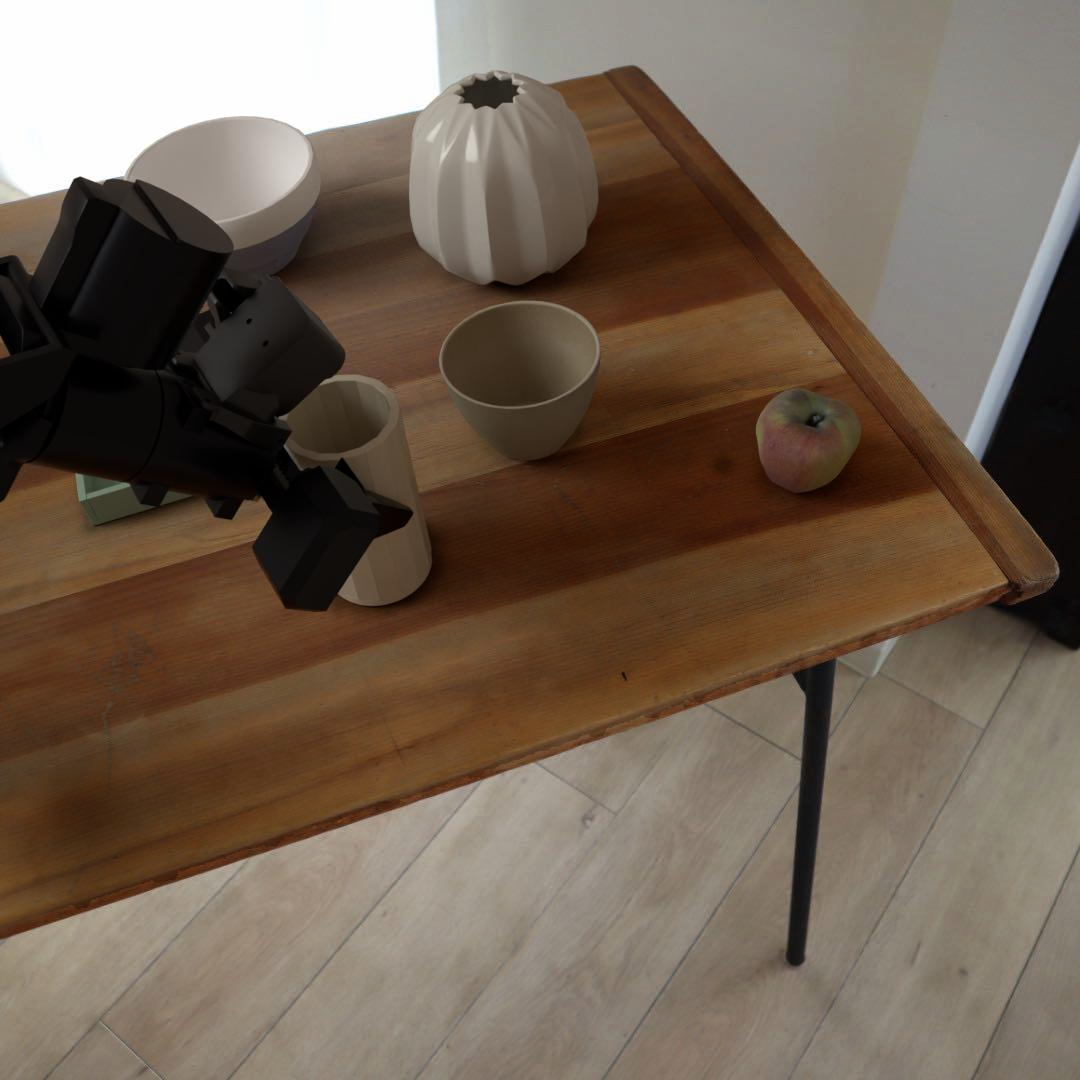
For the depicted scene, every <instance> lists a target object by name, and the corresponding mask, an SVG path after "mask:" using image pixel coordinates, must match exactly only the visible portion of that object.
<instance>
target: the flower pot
mask: <svg viewBox="0 0 1080 1080" xmlns="http://www.w3.org/2000/svg"><path fill="white" fill-rule="evenodd" d="M601 344H602V343H601V341H600V337H599V333H598V332H597V331H596V329H595V327H594V326H593V325H592V324H591V322H590V321H589V320H588V319H587V318H586V317H584V316H583V315H582V314H580V313H579V312H577V311H576V310H573V309H572V308H570V307H567V306H563V305H561V304H557V303H555V302H554V303H553V302H549V301H543V300H539V301H538V300H515V301H509V302H504V303H503V302H502V303H499V304H495V305H491V306H488V307H486V308H483V309H481V310H478V311H477V312H474V313H472V314H471V315H469V316H467V317H466V318H465V319H463V320H462V321H461V322H459V323H458V324H457V325H455V327H454V328H453V329H452V330H450V332H449V333H448V335H447V336H446V337H445V339H444V341H443V343H442V345H441V348H440V351H439V357H438V364H439V365H438V366H439V371H440V374H441V376H442V380H443V382H444V384H445V387H446V389H447V391H448V393H449V395H450V397H451V399H452V401H453V403H454V404H455V406H456V408H457V410H458V411H459V413H460V414H461V416H462V417H463V419H464V420H465V421H466V422H467V424H468V425H469V426H470V427H471V429H472V430H473V431H474V432H475V434H477V435H478V436H479V437H480V438H481V439H482V440H483V441H484V442H486V443H487V444H488V445H489V446H490V447H492V448H493V449H495V450H496V451H497V452H499V453H500V454H502V455H504V456H505V457H508V458H510V459H512V460H513V459H514V460H518V461H534V460H535V461H536V460H541V459H544V458H547V457H549V456H550V455H552V454H554V453H556V452H558V451H559V450H560V449H561V448H562V447H563V446H564V445H565V443H566V442H567V441H568V440H569V439H570V438H571V436H572V435H573V434H574V432H575V431H576V430H577V428H578V427H579V425H580V424H581V422H582V420H583V418H584V416H585V415H586V412H587V410H588V408H589V406H590V403H591V401H592V397H593V395H594V392H595V388H596V385H597V382H598V381H597V380H598V377H599V372H600V365H601V356H602V347H601V346H602V345H601Z"/></svg>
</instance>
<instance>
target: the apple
mask: <svg viewBox="0 0 1080 1080" xmlns="http://www.w3.org/2000/svg"><path fill="white" fill-rule="evenodd" d="M860 422H861V421H860V419H859V416H858V415H857V413H856V412H855V409H854V408H853V407H852V406H851V405H850V404H848V403H847V402H845V401H843V400H841V399H837V398H832V397H827V396H825V395H822V394H820V393H817V392H814V391H811V390H809V389H806V388H801V387H794V388H789V389H786V390H784V391H782V392H780V393H778V394H777V395H776V396H774V397H773V398H772V399H771V400H770V401H769V402H768V403H767V404H766V405H765V407H764V408H763V410H762V411H761V413H760V415H759V416H758V419H757V422H756V425H755V436H756V442H757V448H758V454H759V460H760V463H761V465H762V467H763V469H764V472H765V475H766V477H767V478H768V479H769V481H771V482H772V483H773V484H775V485H776V486H778V487H780V488H782V489H784V490H786V491H789V492H790V493H795V494H799V493H800V494H801V493H806V492H810V491H814V490H816V489H820V488H822V487H824V486H826V485H828V484H830V483H831V482H832V481H834V479H836V478H837V477H838V475H839V474H840V473H841V472H842V471H843V470H844V468H845V466H846V464H847V463H848V462H849V460H850V459H851V457H852V455H853V454H854V453H855V451H856V450H857V448H858V446H859V443H860V440H861V437H862V427H861V423H860ZM724 464H725V463H724V462H723V465H724Z"/></svg>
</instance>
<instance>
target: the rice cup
mask: <svg viewBox="0 0 1080 1080" xmlns="http://www.w3.org/2000/svg"><path fill="white" fill-rule="evenodd" d="M402 416H403V415H402V411H401V406H400V404H399V401H398V399H397V396H396V395H395V391H393V390H392V389H391V388H390V387H388V386H387V385H386V384H384V383H383V382H382V381H381V380H379V379H377V378H372V377H369V376H365V375H362V374H335V375H334V376H333V377H332V378H330V379H326V380H324V381H323V382H322V383H321V384H320V385H319V386H318V387H317V388H316V389H314V390H313V391H312V392H311V393H310V394H309V395H308V396H307V397H306V398H305V399H304V400H303V401H302V402H301V403H299V404H298V405H297V406H296V407H295V408H294V409H293V410H292V411H291V412H289V413H288V414H286V415H284V416H280V417H279V418H278V419H281V420H285V421H286V422H287V424H288V425H289V427H290V428H291V430H292V433H291V435H290V436H289V438H288V440H287V441H286V444H287V446H288V447H289V449H290V450H291V452H292V453H293V455H294V456H295V458H296V459H297V461H298V462H299V464H300V465H301V467H302V468H303V469H306V468H309V467H310V468H315V467H317V466H319V465H321V466H325V467H329V468H335V467H336V465H337V463H338V462H339V460H340V459H341V457H343V458H344V459H345V461H346V462H347V463H348V465H349V466H350V468H351V469H352V470H353V472H354V473H355V475H356V476H357V477H358V479H359V480H360V482H361V483H362V484H363V486H364V487H365V489H366V490H369V491H371V492H374V493H376V494H379V495H382V496H384V497H387V498H390V499H392V500H395V501H397V502H399V503H401V504H403V505H405V506H408V507H410V508H411V509H412V511H413V516H412V517H411V519H410V520H409V522H408V523H407V525H406V526H405V527H403V528H401V529H398V530H396V531H393V532H391V533H388V534H386V535H383V536H381V537H378V538H376V539H374V540H373V541H372V543H371V544H370V546H369V547H368V549H367V550H366V552H365V553H364V555H363V556H362V558H361V559H360V561H359V562H358V564H357V565H356V567H355V568H354V570H353V571H352V573H351V574H350V576H349V578H348V579H347V581H346V582H345V584H344V585H343V587H342V588H341V590H340V591H339V593H338V594H337V595H338V596H339V597H341V598H342V599H344V600H346V601H348V602H350V603H352V604H356V605H360V606H365V607H367V606H368V607H377V606H384V605H385V606H386V605H390V604H393V603H396V602H399V601H401V600H404V599H405V598H408V597H409V596H410V595H412V594H413V593H414V592H416V591H417V590H418V589H419V588H420V587H421V586H422V585H423V584H424V582H425V581H426V579H427V578H428V576H429V573H430V571H431V569H432V565H433V554H432V553H433V552H432V545H431V540H430V536H429V532H428V526H427V523H426V518H425V514H424V509H423V505H422V499H421V495H420V491H419V487H418V481H417V477H416V473H415V469H414V465H413V460H412V455H411V450H410V447H409V442H408V438H407V433H406V428H405V424H404V419H403V417H402Z"/></svg>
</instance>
